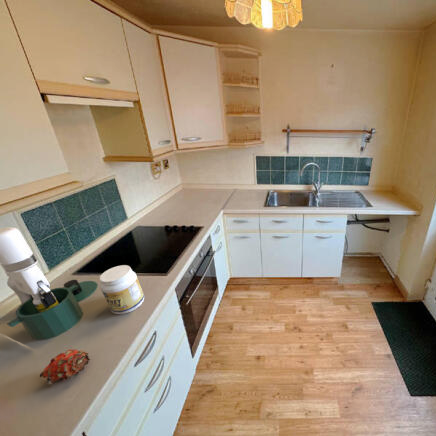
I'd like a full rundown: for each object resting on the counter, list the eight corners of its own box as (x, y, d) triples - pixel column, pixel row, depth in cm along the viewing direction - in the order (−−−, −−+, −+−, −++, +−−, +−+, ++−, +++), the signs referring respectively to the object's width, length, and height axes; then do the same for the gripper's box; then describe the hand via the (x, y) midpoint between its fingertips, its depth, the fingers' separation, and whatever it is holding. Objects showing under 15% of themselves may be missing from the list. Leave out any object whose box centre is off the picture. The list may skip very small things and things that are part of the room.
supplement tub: (104, 314, 93) (87, 282, 86) (126, 293, 104) (113, 262, 97) (131, 316, 92) (117, 284, 84) (151, 295, 103) (140, 264, 95)
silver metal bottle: (21, 313, 94) (-7, 275, 86) (37, 301, 100) (12, 264, 92) (37, 313, 94) (11, 274, 86) (52, 301, 100) (29, 264, 92)
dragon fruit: (98, 368, 75) (54, 388, 71) (96, 342, 78) (53, 359, 74) (80, 371, 67) (30, 394, 64) (78, 342, 71) (30, 361, 67)
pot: (14, 340, 83) (-5, 317, 78) (76, 301, 100) (63, 279, 95) (38, 352, 79) (20, 328, 73) (99, 309, 96) (87, 287, 91)
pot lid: (44, 302, 100) (37, 291, 97) (84, 279, 113) (78, 269, 110) (68, 311, 95) (60, 299, 92) (106, 286, 108) (100, 275, 106)
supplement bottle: (37, 318, 84) (23, 298, 80) (50, 306, 89) (38, 287, 85) (53, 316, 84) (40, 296, 80) (65, 305, 89) (53, 286, 85)
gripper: (-10, 264, 76) (18, 304, 84) (20, 274, 71) (47, 316, 79) (20, 252, 83) (44, 290, 90) (49, 261, 77) (72, 300, 85)
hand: (45, 302), depth 84 cm, fingers closed on supplement bottle, 5 cm apart
